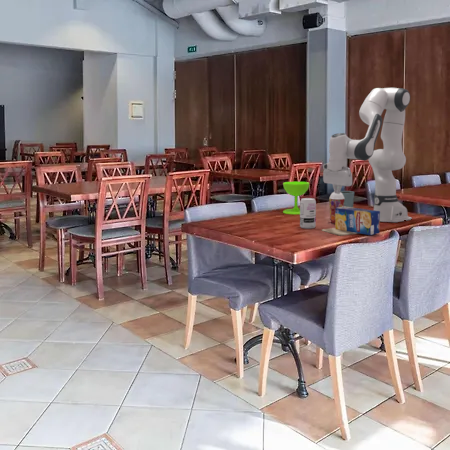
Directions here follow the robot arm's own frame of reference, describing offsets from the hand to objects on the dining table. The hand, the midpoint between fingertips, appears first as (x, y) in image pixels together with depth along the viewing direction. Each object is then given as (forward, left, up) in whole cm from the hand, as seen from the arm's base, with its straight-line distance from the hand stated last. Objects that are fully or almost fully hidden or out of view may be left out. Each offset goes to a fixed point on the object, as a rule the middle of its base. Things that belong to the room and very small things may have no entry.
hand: (337, 193), depth 286 cm
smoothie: (-12, -17, -19) cm, 28 cm away
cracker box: (-2, 0, -12) cm, 13 cm away
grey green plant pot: (-40, -47, -19) cm, 65 cm away
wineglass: (-12, -59, -19) cm, 63 cm away
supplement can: (+9, -13, -19) cm, 25 cm away
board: (0, +6, -19) cm, 20 cm away
